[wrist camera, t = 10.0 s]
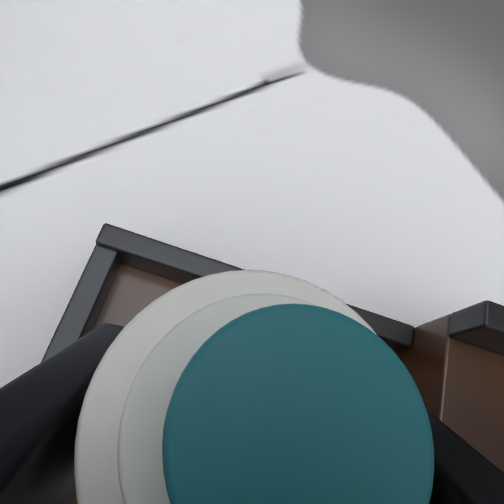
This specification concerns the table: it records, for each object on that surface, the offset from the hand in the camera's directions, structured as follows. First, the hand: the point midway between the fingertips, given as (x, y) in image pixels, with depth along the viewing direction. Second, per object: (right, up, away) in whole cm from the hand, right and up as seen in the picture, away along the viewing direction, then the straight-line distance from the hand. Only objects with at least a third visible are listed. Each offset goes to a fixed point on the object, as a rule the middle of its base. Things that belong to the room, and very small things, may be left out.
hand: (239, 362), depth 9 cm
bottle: (-1, -3, +3) cm, 4 cm away
